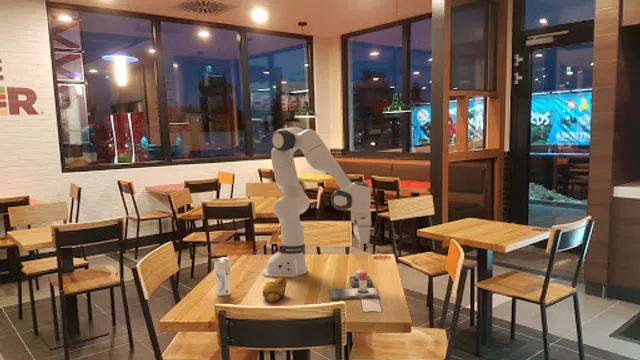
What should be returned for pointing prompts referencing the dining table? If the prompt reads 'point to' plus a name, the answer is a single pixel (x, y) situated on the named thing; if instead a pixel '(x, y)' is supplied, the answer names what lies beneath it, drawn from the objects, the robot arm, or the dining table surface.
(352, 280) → the button base
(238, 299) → the dining table surface
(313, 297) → the dining table surface
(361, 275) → the marker
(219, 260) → the beer glass
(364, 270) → the button
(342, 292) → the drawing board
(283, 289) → the bread roll
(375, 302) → the smartphone
